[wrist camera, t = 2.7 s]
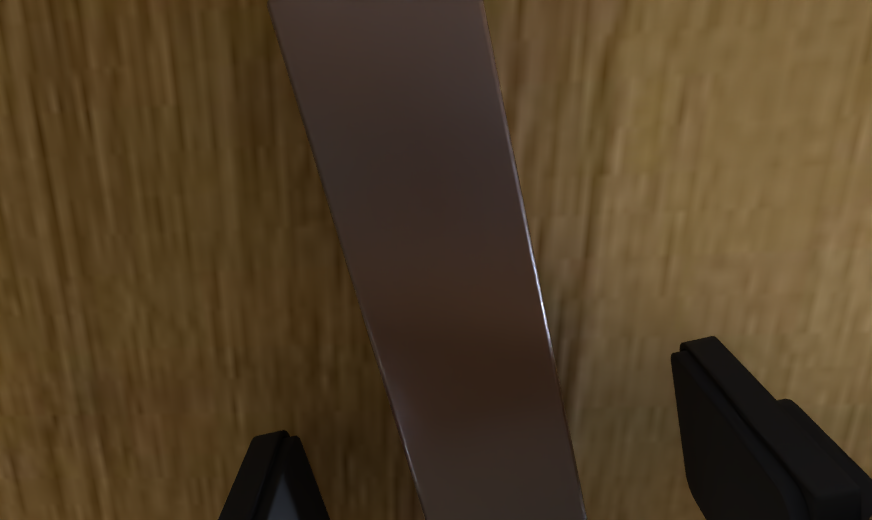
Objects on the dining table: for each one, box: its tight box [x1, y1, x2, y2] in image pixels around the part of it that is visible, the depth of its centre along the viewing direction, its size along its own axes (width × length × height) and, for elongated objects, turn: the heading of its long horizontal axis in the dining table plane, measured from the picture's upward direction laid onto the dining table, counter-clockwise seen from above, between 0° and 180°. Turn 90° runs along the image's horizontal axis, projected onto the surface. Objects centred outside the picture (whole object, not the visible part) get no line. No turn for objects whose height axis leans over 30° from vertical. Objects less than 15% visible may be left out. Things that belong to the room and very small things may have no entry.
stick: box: [267, 0, 587, 520], centre depth 11 cm, size 16×2×2 cm, turn 14°
